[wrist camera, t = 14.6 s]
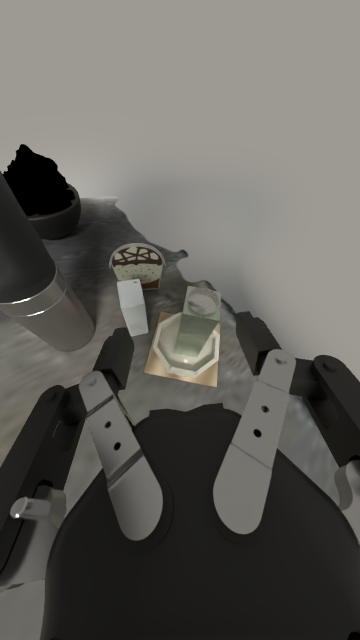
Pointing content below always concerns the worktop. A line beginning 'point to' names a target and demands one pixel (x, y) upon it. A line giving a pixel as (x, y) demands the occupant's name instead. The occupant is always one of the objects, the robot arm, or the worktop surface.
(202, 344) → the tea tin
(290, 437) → the worktop surface
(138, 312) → the skincare box
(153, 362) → the board
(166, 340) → the bowl
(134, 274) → the food container
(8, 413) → the worktop surface
